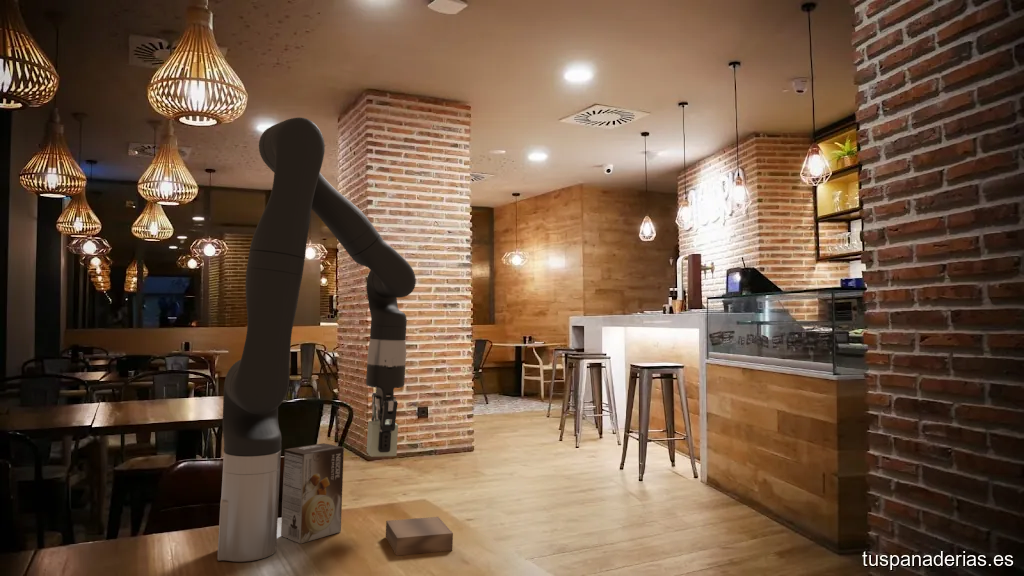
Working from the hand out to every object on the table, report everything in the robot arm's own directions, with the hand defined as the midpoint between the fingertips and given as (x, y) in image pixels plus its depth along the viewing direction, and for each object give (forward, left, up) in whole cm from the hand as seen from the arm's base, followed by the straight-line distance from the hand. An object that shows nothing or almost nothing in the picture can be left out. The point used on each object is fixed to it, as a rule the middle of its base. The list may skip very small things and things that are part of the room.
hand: (381, 448), depth 132 cm
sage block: (0, 0, -1) cm, 1 cm away
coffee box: (-13, -2, -15) cm, 20 cm away
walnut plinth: (+5, -12, -15) cm, 20 cm away
